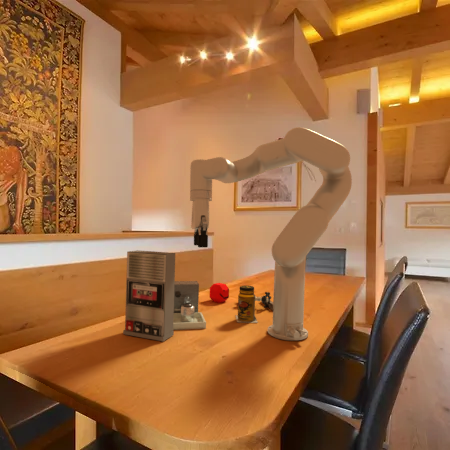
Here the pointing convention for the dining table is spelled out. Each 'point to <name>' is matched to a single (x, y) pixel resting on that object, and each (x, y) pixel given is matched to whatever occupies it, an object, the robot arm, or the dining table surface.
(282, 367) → the dining table surface
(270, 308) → the valve rest
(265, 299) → the valve
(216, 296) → the ball
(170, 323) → the cassette tape recorder
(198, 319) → the tray
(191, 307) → the cylinder
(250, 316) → the condiment
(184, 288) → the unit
